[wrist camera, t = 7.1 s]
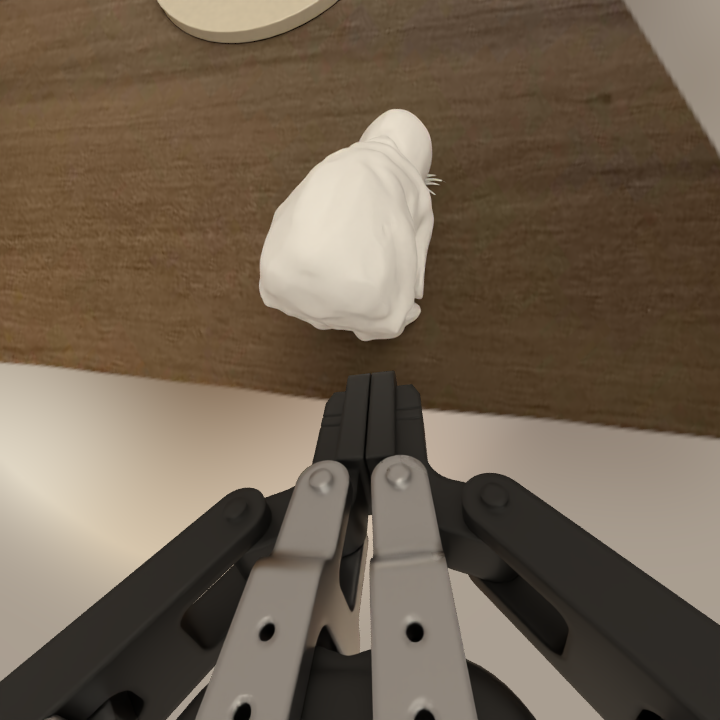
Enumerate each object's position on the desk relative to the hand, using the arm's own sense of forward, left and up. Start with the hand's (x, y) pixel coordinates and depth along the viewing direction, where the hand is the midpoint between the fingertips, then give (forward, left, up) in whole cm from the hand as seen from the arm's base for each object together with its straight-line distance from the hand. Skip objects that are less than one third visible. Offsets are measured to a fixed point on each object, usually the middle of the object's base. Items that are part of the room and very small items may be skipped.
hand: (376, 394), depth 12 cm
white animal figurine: (0, -8, -7) cm, 11 cm away
